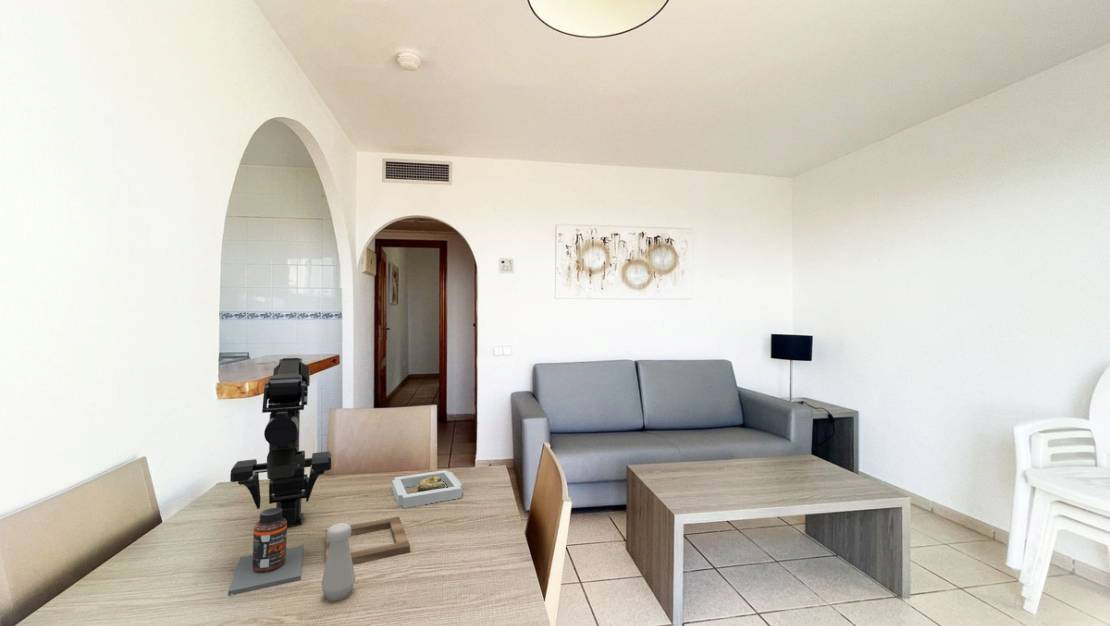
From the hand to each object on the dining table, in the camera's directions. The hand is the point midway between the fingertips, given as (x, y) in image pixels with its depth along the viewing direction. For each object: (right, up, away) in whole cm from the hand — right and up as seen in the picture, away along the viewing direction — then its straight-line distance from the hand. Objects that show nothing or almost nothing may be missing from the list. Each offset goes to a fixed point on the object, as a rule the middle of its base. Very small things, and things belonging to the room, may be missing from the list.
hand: (283, 504), depth 100 cm
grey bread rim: (+21, -12, +38) cm, 45 cm away
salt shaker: (+19, -12, -14) cm, 26 cm away
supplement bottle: (0, -11, -5) cm, 12 cm away
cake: (+23, -13, +39) cm, 47 cm away
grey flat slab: (0, -11, -5) cm, 13 cm away
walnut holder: (+16, -12, +6) cm, 21 cm away
